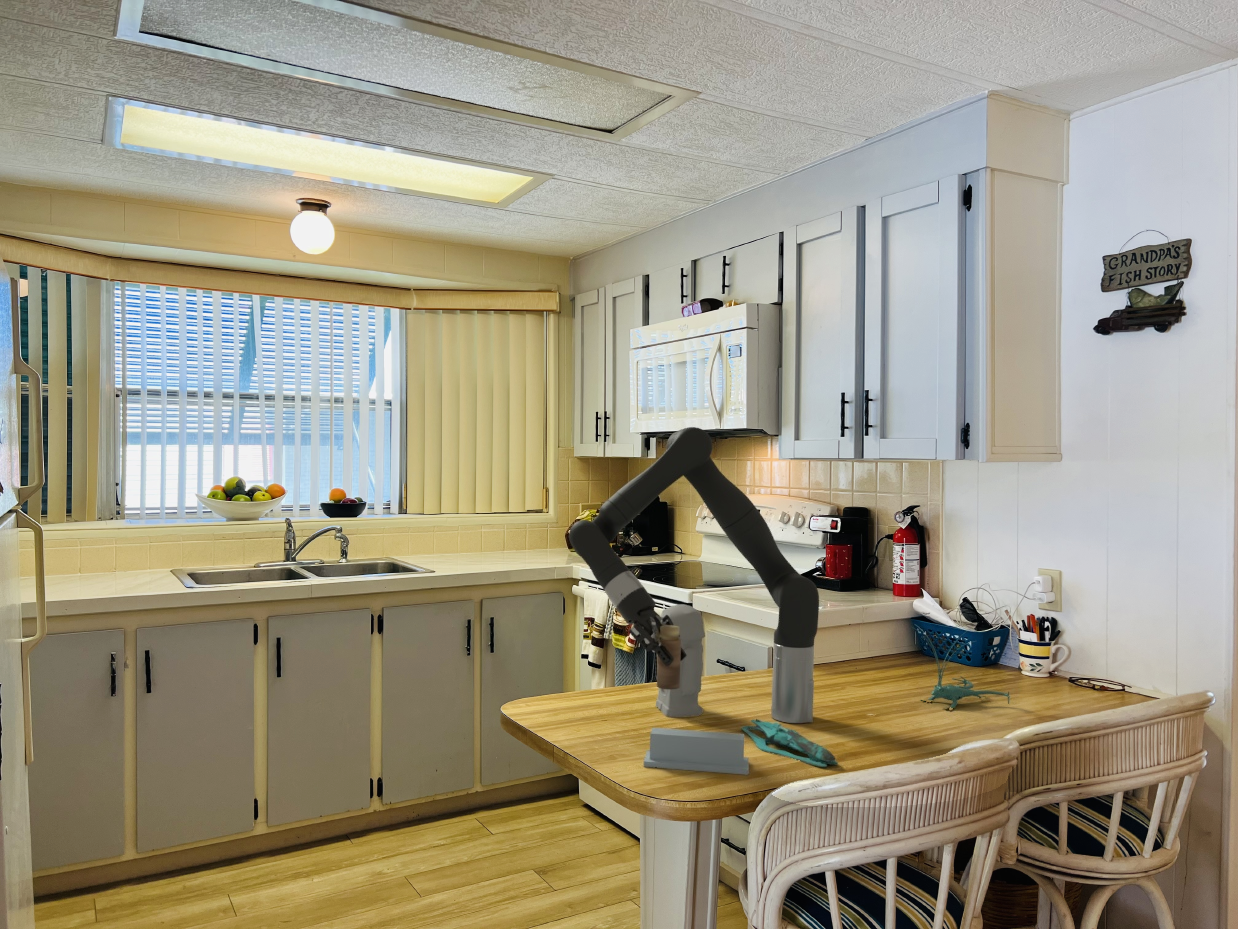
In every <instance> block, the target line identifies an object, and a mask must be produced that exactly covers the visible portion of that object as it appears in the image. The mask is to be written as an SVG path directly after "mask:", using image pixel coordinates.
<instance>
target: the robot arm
mask: <svg viewBox="0 0 1238 929" xmlns="http://www.w3.org/2000/svg"><path fill="white" fill-rule="evenodd" d="M665 449H666V450H665V451H664V453H662V455H661V456H660V457H659V458H657V460H656V461H654V463H652V464H651V465H650V466H649V467H647V468H646V469H645V470H644V471H642V472H641V473H640V474H638V475H636V477H634V478H633V479H631V480H630V481H628V482H627V483H626V484H624V485H623V486H622V487H621V488H619V489H618V490H617V491H616V492H615V493H614V494H613V495H612V496H611V497H609V498H608V499H607V500H605V502H604V503H603V504H602V505H601V506H600V508H599V511H598V514H597V515H596V517H595V518H594V519H593V520H592V521H591V520H588V519H587V520H586V519H581V520H578V521H576V522H575V523H573V524H572V526H571V527H570V529H569V532H568V534H569V535H568V538H569V539H568V540H569V542H570V544H571V547H572V549H573V550H574V551H575V553H576V554H577V556H579V557H580V558H582V560H583V561H584V562H585V563H586V564H587V566H588V567H589V569H590V571H591V572H592V575H593V576H594V577H595V580H596V581H597V582H598V583H599V585H600V587H601V588H602V589H603V591H604V592H605V593H606V595H607V598H608V599H609V600H610V603H612V605H613V606H614V608H615V609H616V610H617V612H618V613H619V615H621V618H623V620H624V621H625V622H626V623H627V625H633V626H631V627H630V629H628V633H629V634H630V635H631V636H632V637H633V638H634V639H635V640H636V642H637V643H638V644H640V646H641V647H642V648H643V649H644V650H645V651H647V652H651V651H652V652H653V653H655V654H656V655H657V657H658V656H659V658H660V659H661V660H662V662H663V663H664V664H665V666H668V665H670V664H671V663H672V662H673V661H674V658H673V657H672V655H671V654H670V653H669V651H668V650H667V649H666V647H665V646H662V645H663V643H662V641H661V639H660V626H663V625H673V626H674V624H673V622H672V621H671V619H670V617H669V616H668V615H665V616H664V617H661V615H660V614H659V613H658V612H656V611H655V608H656V601H655V599H653V597H652V596H651V595H650V593H649V592H648V591H647V589H646V588H645V587H644V585H643V584H642V582H641V581H640V580H639V579H638V578H637V577H636V575H634V574H633V573H632V571H631V570H630V568H629V567H628V566H627V565H626V563H625V562H624V561H623V560H622V559H621V557H620V556H619V555H618V554H617V553H616V551H615V550H614V549H613V547H612V545H611V543H612V542H613V540H614V539H615V538H617V536H618V534H619V533H620V532H621V530H622V529H623V528H625V527H627V525H629V523H631V522H632V521H633V520H634V519H635V518H637V516H639V514H641V513H642V512H643V511H644V510H646V508H647V507H648V506H649V505H651V503H652V502H654V500H656V498H658V496H660V495H661V494H662V493H663V492H664V491H665V490H667V489H668V488H669V487H670V486H671V485H673V484H674V483H676V482H677V481H678V480H679V479H681V478H682V477H684V478H685V479H686V481H688V482H689V483H690V484H691V486H692V487H693V488H694V489H695V491H696V492H697V494H698V495H699V497H700V498H701V500H702V501H703V503H704V505H706V508H707V509H708V510H709V512H710V514H711V515H712V517H713V518H714V519H715V521H716V523H717V524H718V525H719V528H721V530H722V531H723V533H724V534H725V535H726V536H727V537H728V539H729V540H730V542H731V543H732V545H734V546H735V548H736V549H737V550H738V552H739V553H740V554H741V555H742V556H743V557H744V559H745V560H746V561H747V562H748V563H749V564H750V565H751V566H752V567H753V568H754V570H755V571H756V573H757V574H758V576H759V578H760V579H761V581H762V583H763V584H764V586H765V588H766V590H767V591H768V592H769V595H770V597H771V598H772V600H773V602H774V604H775V605H776V606H777V607H778V623H777V626H776V629H775V630H774V632H773V651H772V652H773V653H772V655H773V656H772V657H773V658H772V684H771V710H770V712H771V714H770V715H771V718H772V719H774V720H775V721H779V722H783V723H790V724H803V723H805V724H806V723H813V721H814V720H813V719H814V718H813V716H814V692H815V690H814V689H815V688H814V687H815V686H814V684H815V681H814V660H815V659H814V656H815V638H816V635H817V633H818V627H819V625H818V624H819V615H820V614H819V610H820V596H819V595H820V594H819V590H818V587H817V585H816V584H815V582H813V580H811V579H810V578H807V577H805V576H803V575H801V573H799V572H798V571H797V570H796V569H795V567H793V566H792V564H791V563H790V562H789V561H788V560H787V559H786V557H785V556H784V555H783V553H782V552H781V550H780V549H779V547H778V545H777V542H776V541H775V538H774V536H773V534H772V532H771V529H770V527H769V525H768V523H767V522H766V519H765V518H764V517H763V516H762V514H761V513H760V511H759V510H758V508H757V507H756V505H754V503H753V502H752V501H751V499H750V498H749V497H748V496H747V495H746V494H745V493H744V492H743V491H742V490H741V489H740V488H738V486H736V485H735V484H734V482H732V481H730V479H728V477H726V476H725V475H724V474H723V472H721V470H720V469H719V468H718V466H717V465H716V463H715V462H714V460H713V459H712V458H711V455H712V451H713V440H712V438H711V436H710V435H709V433H708V432H707V431H706V430H704V429H702V428H699V427H696V426H694V427H693V426H691V427H685V428H682V429H678V430H676V431H675V432H673V433H672V434H670V436H669V438H668V440H667V442H666V446H665ZM679 637H680V635H679ZM686 656H687V655H686V653H685V652H684V650H683V649H682V648H681V659H680V661H682V660H683V659H684V658H685V657H686Z"/></svg>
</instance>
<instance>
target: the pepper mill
mask: <svg viewBox="0 0 1238 929" xmlns="http://www.w3.org/2000/svg"><path fill="white" fill-rule="evenodd" d="M660 639H661V641H662V643H663V645H662V646H665V647H666V649H667V650H668V651H669V653H670V654H671V655H672V657H673V658H674V661H673V662H672V663H671V664H670V665H668V666H665V664H664V663H663V662H662V660H661V659H660V658H659V656H658V655H657V661H656V662H657V665H656V667H657V669H656V687H657V688H658V689H659V688H661V689H678V688H680V659H681V639H680V638H679V627H678V626H673V625H663V626H660Z"/></svg>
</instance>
